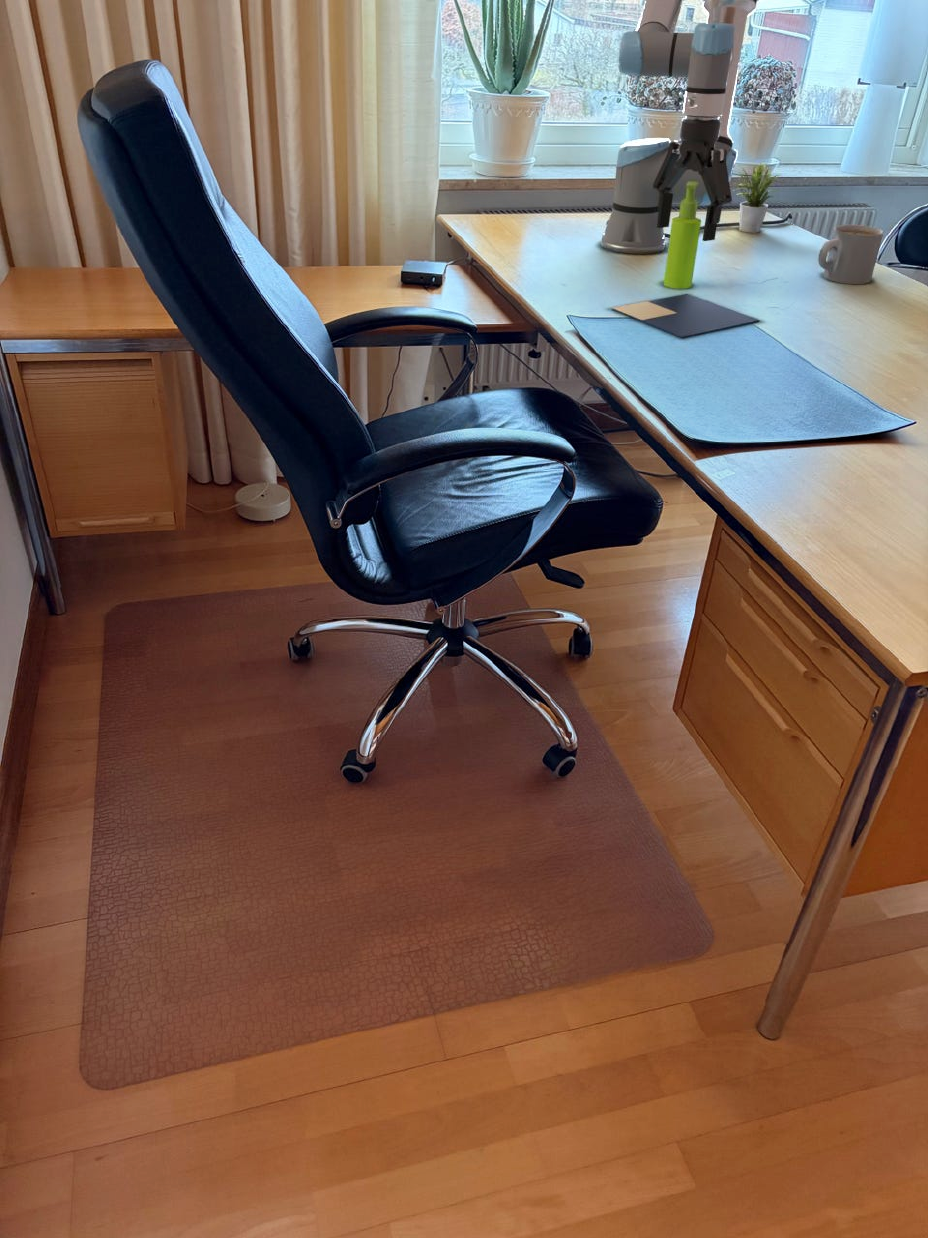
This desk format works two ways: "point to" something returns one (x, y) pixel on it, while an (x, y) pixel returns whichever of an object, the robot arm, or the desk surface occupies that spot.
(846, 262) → the coffee mug
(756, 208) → the house plant
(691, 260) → the soap dispenser
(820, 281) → the desk surface
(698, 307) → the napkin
